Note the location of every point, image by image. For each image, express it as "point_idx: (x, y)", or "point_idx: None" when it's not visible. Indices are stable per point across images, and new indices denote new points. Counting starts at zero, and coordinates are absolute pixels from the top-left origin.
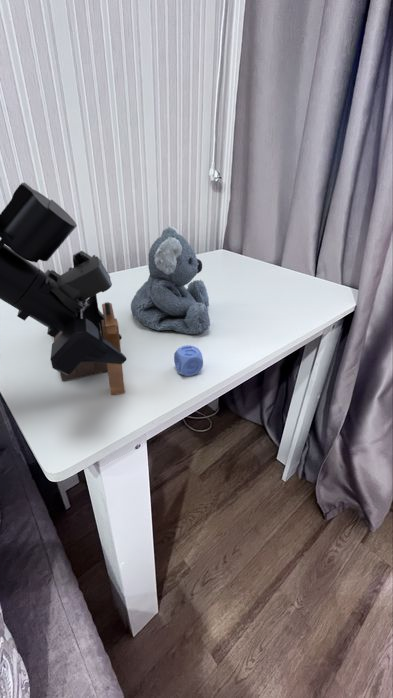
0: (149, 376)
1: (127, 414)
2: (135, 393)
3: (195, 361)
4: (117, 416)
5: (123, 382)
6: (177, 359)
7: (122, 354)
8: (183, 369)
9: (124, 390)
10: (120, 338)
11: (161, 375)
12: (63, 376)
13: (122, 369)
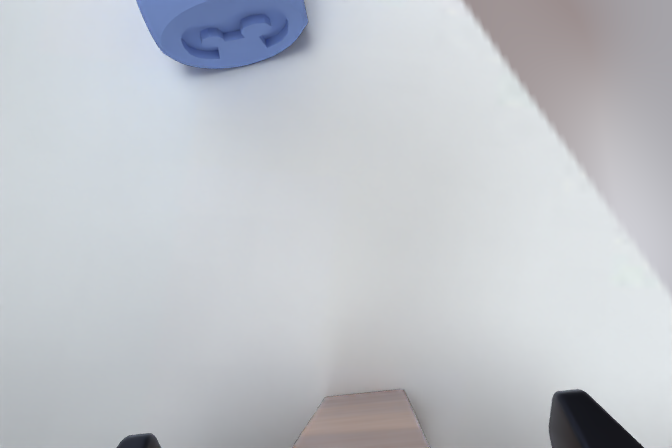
0: (263, 234)
1: (590, 377)
2: (413, 325)
3: None
4: None
5: (408, 400)
6: (202, 31)
7: (597, 437)
8: (305, 11)
9: (404, 391)
10: (157, 445)
11: (264, 162)
12: None
13: (413, 414)
